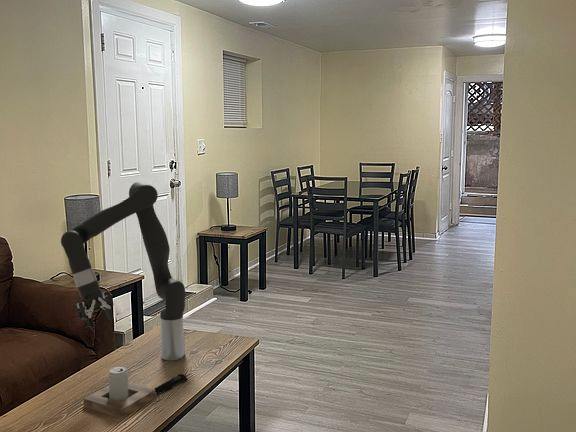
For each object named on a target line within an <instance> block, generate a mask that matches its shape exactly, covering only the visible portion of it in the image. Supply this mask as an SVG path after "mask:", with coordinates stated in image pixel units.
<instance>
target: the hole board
mask: <svg viewBox="0 0 576 432" xmlns="http://www.w3.org/2000/svg"><path fill="white" fill-rule="evenodd" d="M128 397H129V398H127V399H125V400H124V401H122V402H118V401H115V400H111V399H109V384H108V385H106V386H104V387H103V388H101V389H99V390H97V391H95V392H93V393H91V394H89V395H87V396H86V397H84V398H83V399H82V400H83V408H87V409H90V410H93V411H96V412H100V413H103V414H105V415H106V414H107V415H109V416H112V417H115V418H118V419H123V418H125V417H126V416H127V415H130V414H131V413H132V412H134V411H136V410H137V409H140V408H141V407H143V406H144V405H146V404H148V403H149V402H151V401H153V400H154V399H156V392H155V389H154V388H151V387H147V386H143V385H140V384H136V383H132V382H129V381H128Z"/></svg>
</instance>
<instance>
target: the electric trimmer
mask: <svg viewBox="0 0 576 432" xmlns="http://www.w3.org/2000/svg"><path fill="white" fill-rule="evenodd" d="M183 382H188V377H187V376H186V375H185V374H183V373H178V374H177V375H175V377H172V378H171V379H169V380H167V381H165V382H163V383H162V384H160V385H158V386H156V387H154V388H153V389H155V394H156V393H157V394H161V393H164V392H167V391H170V390H172V389H173V388H174V387H175V386H177V385H179V384H181V383H183Z"/></svg>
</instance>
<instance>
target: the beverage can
mask: <svg viewBox="0 0 576 432" xmlns="http://www.w3.org/2000/svg"><path fill="white" fill-rule="evenodd" d="M128 372H129V371H128V370H127V367H125V366H116V367H115V366H114V367H112V368H110V369H109V371H108V374H107V375H108V385H109V399H111V400H115V401H118V402H122V401H124V400H125V399H127V398H129V397H128V382H129V378H128V377H129V373H128Z"/></svg>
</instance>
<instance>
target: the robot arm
mask: <svg viewBox="0 0 576 432" xmlns="http://www.w3.org/2000/svg"><path fill="white" fill-rule="evenodd" d="M157 200H158V190H157V189H156V187H154V186H153V185H152V184H150V183H146V181H145V182H144V181H136V182H134V183H132V185H131V186H130V188H129V191H128V197H127V198H125V199H124V200H122V201H121V202H119V203H117V204H115V205H111V206H109V207H107V208H104V209H102V210H100V211H98V212H96V213H95V214H92V216H90V217H88V218H87V219H85V220H84V221H83V222H82V223H81V224H79V225H77V226H76V227H74V228H72V229H69V230H67V231H66V232H64V233H63V234H62V236H61V237H60V244H61V247H62V248H63V250H64V252H65V255H66V257H67V259H68V265H69V268H70V271H71V274H72V275H73V281H74V284H75V286H76V288H77V291H78V294H79V297H80V298H81V300H82V301H81V302H78V303H75V308H76V311H77V314H78V317H79V320H85V321H86V324H87V327H88V328H89V329H94V328H95V327H96V324H95V321H94V320H93V319H94V318H93V317H92V314H93V312H94V310H96V309H97V308H101V309H103V310H104V314H105V317H106V319H107V320H108V321H110V320H112V319H113V316H114V315H113V313H112V310H111V308H112V307H113V306H114V304H115V303H114V301H113V299H112V297H111V294H110V292H109V291H107V290H106V291H103V292H102V293H101V290H102V289H101V287H100V284H99V281H98V279H97V276H96V273H95V271H94V269H93V267H92V263H91V261H90V259H89V257H88V254H87V252H86V249H85V248H86V247H85V245H84V244H86V243H87V242H88V241H90V240H91V239H93V238H95V237H97V236H98V235H100V234H102V233H103V232H105V231H106V230H108V229H109V228H111V227H112V226H115V225H116V224H117V223H119V222H121V221H123V220H125V219H126V218H129V217H130V216H132V215H134V214H136V217H137V220H138V224H139V225H138V226H139V228H140V233H141V237H142V241H143V245H144V248H145V252H146V254H147V258H148V261H149V265H150V268H151V271H152V276H153V281H154V287H155V292H156V294H157V296H158V298H160V299H162V300H164V301H165V305H164V306H165V308H162V309H161V310H160V312H159V314H160V315H159V316H160V318H159V319H160V320H159V321H160V322H159V323H160V353H161V354H160V357H161V359H162V360H165V361H177V360H180V359H182V358H184V356H185V354H186V346H185V345H186V344H185V343H186V342H185V340H186V338H185V337H186V336H185V332H184V312H185V307H186V288H185V284H184V283H183V282H181V281H180V280H177V279H174V278H173V277H172V273H171V271H170V268H169V258H170V257H169V256H170V251H171V249H170V244H169V240H168V238H167V233H166V231H165V229H164V226H163V225H162V223H161V221H160V219H159V217H158V215H157V214H156V211H155V207H154V205H155V203H156V202H157Z"/></svg>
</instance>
